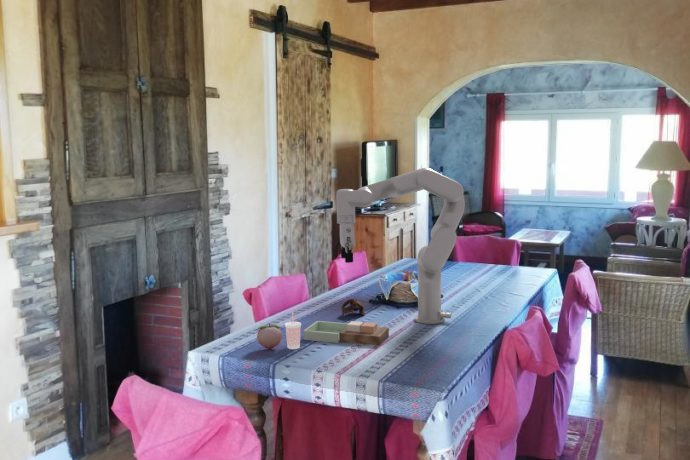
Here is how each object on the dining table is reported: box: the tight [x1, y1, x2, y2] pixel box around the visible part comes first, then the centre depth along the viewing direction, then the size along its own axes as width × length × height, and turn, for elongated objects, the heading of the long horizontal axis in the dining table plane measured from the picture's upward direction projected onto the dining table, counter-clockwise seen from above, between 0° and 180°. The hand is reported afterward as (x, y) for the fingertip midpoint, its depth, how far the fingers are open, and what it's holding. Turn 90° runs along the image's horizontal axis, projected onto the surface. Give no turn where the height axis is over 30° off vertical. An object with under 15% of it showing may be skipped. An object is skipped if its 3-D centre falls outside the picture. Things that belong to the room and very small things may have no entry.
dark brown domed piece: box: [340, 298, 366, 317], centre depth 296 cm, size 12×10×8 cm
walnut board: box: [338, 326, 390, 347], centre depth 260 cm, size 16×12×4 cm
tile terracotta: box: [361, 321, 378, 333], centre depth 259 cm, size 5×5×2 cm
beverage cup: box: [284, 309, 302, 350], centre depth 250 cm, size 6×6×14 cm
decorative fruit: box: [256, 322, 283, 350], centre depth 248 cm, size 9×8×10 cm
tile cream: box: [347, 320, 365, 332], centre depth 260 cm, size 5×5×2 cm
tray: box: [302, 320, 349, 344], centre depth 265 cm, size 14×15×4 cm
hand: (347, 260), depth 281 cm, fingers open, 9 cm apart
